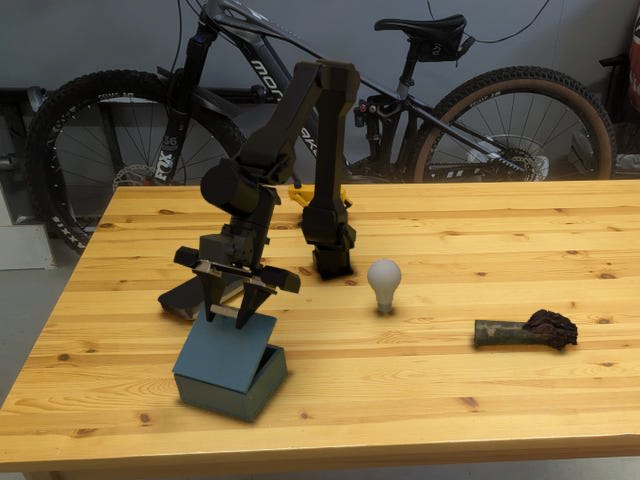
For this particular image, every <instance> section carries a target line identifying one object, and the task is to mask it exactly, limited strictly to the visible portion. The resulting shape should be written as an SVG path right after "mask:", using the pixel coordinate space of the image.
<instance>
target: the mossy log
mask: <svg viewBox="0 0 640 480" xmlns="http://www.w3.org/2000/svg"><path fill="white" fill-rule="evenodd" d="M578 328H579V327H578V326H577V324H576V323H573V322H572V321H571V319H570V318H569V317H567V316H564V315H563V314H561V313H559V312H555V311H552V310H549V309H548V310H547V309H545V308H541V309H538V310H537V311H535V312H534V313H532V315H531V316H530V317H529V318H528V319H527V321H515V320H514V321H513V320H497V319H474V335H473V337H474V338H473V341H474V347H491V346H492V347H493V346H496V347H497V346H543V347H544V346H546V347H549V348H552V349H554V350H557V351H559V352H561V351H562V349H565V348H566V346H567V345H571V346H573V347H576V346H578V345H579V344H578V337H579V332H578V331H579V330H578Z"/></svg>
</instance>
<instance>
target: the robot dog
mask: <svg viewBox="0 0 640 480" xmlns="http://www.w3.org/2000/svg"><path fill="white" fill-rule="evenodd" d="M290 177H291V178H292V180H293V184H292V183H291V184H289V185H288V187H287V189H286V191H287V194H288V196H289V197H288V198H289V200H290V201H292V202H293V201H294V202H297V204H299V205H300V206H301V207H302V209H303V208H304V207H305V206H308V204H309V203H310V201H311V200H312V198H313V197H314V187H315V185H309V184H304V183H302V181H301V179H300V178H299V177H298V175H297V174H296V171H295V169H294V168H293V172H292V175H291V176H290ZM340 197H341V200H342V202H343V204H344V206H345V208H346V210H347V212H348V216H349V214H350V212H349V211H348V209H350V208H351V207H352V206H353V203H354V202H353V201H352V200H351V199H350V198H349V197H348V196H347V195H346V188H344V187H341V194H340ZM301 217H302V219H301V220H300V221H298V222H297V224H296V225H297V226H298V227H301V224H302V220H303V213H302V214H301Z"/></svg>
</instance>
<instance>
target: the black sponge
mask: <svg viewBox="0 0 640 480" xmlns="http://www.w3.org/2000/svg"><path fill="white" fill-rule="evenodd" d="M228 265H229V264H228ZM229 266H232V265H229ZM234 266H235V265H234V264H233V267H234ZM243 269H246V267H243ZM220 278H223V279H226V280H228V281H227V284H226V287H225V290H224V293H223V296H222V298H221V301H220V304H223V302H225V301H227V300H229V299H230V298H232V297H234V296H236V295H237V294H239V293H240V292H241V291H244V287H243V281H244V282H248V283H251V279H250V278H246V277H241V276H237V275H233V274H229V273H224V272H222V273H221V277H220ZM157 302H158V303H159V304H160V307H161V309H162V310H164V311H166V312H167V313H171V314H175V315H176V316H178V317H179V318H180V319H182V320H188V321H189V320H190V321H192V320H196V318H197V315H198V313H199V311H200V309H201V307H202V305H203V303H204V293H203V288H202V284H201V281H200V280H199V278H198V276H197V275H195V276H194V277H192V278H189V279H187V280H186V281H184V282H182V283H181V284H179V285H177V286H176V287H174V288H172V289H170V290H168V291H166V292H164V293H162V294H160V295H159V296H158V297H157Z"/></svg>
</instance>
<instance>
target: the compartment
mask: <svg viewBox="0 0 640 480" xmlns="http://www.w3.org/2000/svg"><path fill="white" fill-rule="evenodd" d="M288 374H289V372H288V365H287V360H286V352H285V347H282V346H279V345H275V344H272V343H269V342H268V343H267V346H266V348H265V351H264V353H263V355H262V358H261V360H260V362H259V365H258V367H257V370H256V372H255V374H254V377H253V379H252V381H251V384H250V386H249V389H248V391H247V393H246V394H245V393H242V392H238V391H235V390H231V389H228V388H224V387H221V386H217V385H214V384H210V383H207V382H203V381H200V380H196V379H193V378H189V377H186V376H182V375H178V374H175V373H173V379H174V382H175V385H176V388H177V391H178V395H179V397H180V401H181V402H182V403H185V404H189V405H191V406H196V407H199V408H202V409H206V410H209V411H213V412H215V413H219V414H223V415H226V416H229V417H233V418H236V419H238V420H243V421H247V422H250V423H253V421H254V420H255V418H256V417H257V416H258V414H260V412H261V410H262V409H263V408H264V406H265V405H266V403H268V401H269V400H270V399H271V397H272V396H273V394H274V393H275V392H276V390H278V388H279V387H280V385H281V384H282V382H283V381H284V380H285V379H286V377H287V376H288Z"/></svg>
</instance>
